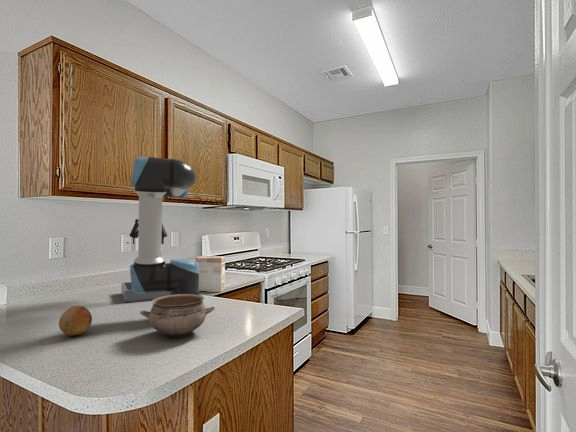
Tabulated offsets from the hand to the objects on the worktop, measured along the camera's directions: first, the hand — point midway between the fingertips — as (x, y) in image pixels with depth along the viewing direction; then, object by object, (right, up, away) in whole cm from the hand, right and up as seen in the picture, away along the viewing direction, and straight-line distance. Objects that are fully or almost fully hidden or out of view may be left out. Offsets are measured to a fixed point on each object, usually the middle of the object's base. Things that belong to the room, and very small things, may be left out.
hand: (148, 250), depth 176 cm
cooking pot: (+34, -24, -57) cm, 71 cm away
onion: (-1, -23, -59) cm, 64 cm away
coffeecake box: (+28, -25, +17) cm, 41 cm away
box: (-1, -24, +3) cm, 24 cm away
